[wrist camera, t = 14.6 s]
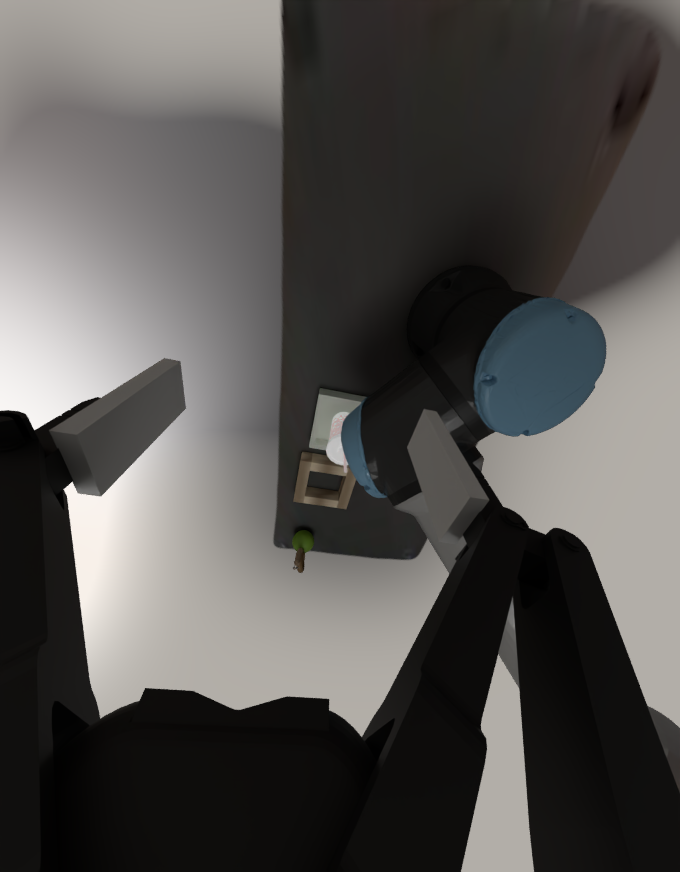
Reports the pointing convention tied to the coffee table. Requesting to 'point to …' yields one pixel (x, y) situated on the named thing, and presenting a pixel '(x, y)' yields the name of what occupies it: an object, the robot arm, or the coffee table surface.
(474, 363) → the robot arm
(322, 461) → the socket holder
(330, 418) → the tray
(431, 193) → the coffee table surface
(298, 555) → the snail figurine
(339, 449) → the beverage cup
